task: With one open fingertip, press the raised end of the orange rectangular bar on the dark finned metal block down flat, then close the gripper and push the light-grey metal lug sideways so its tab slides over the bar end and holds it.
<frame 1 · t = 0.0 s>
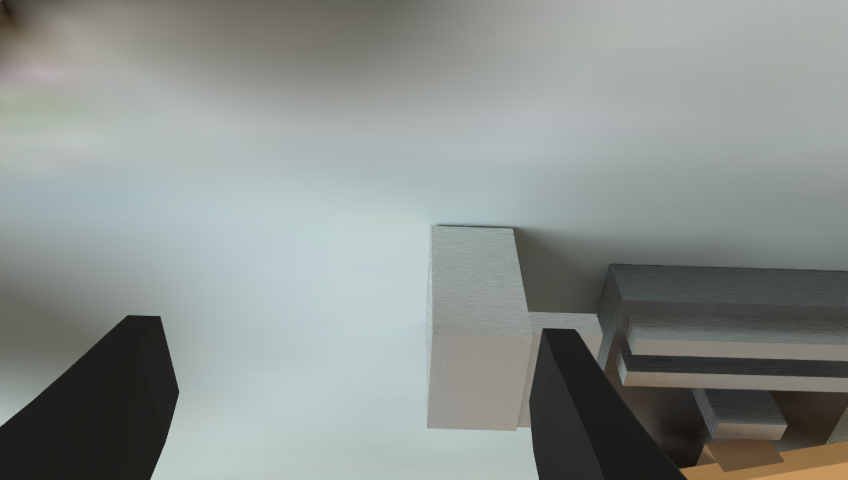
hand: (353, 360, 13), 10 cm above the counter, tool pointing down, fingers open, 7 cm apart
heatsink block: (690, 400, 28), on the counter
lug: (502, 324, 22), point 3 cm above the counter, slide at 0.0 cm
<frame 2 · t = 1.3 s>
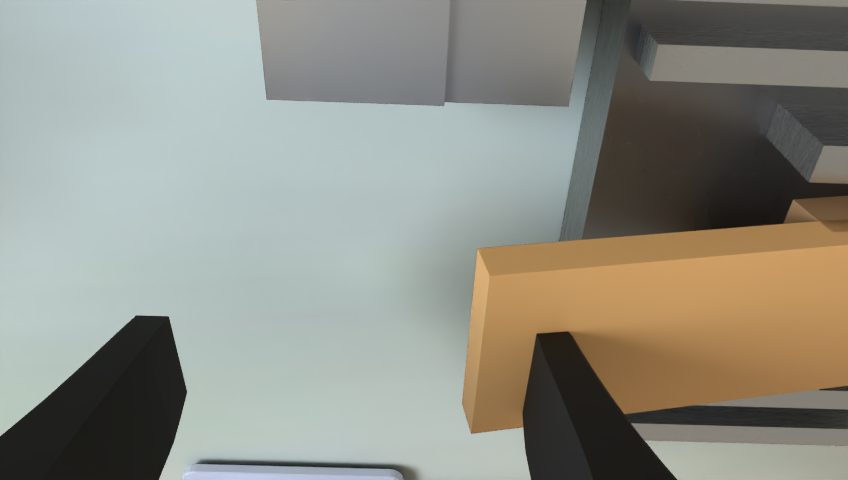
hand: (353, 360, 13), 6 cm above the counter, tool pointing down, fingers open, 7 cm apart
orange rectangular bar: (833, 295, 14), point 4 cm above the counter, hinge at 10.7°, touching gripper
heatsink block: (748, 190, 18), on the counter
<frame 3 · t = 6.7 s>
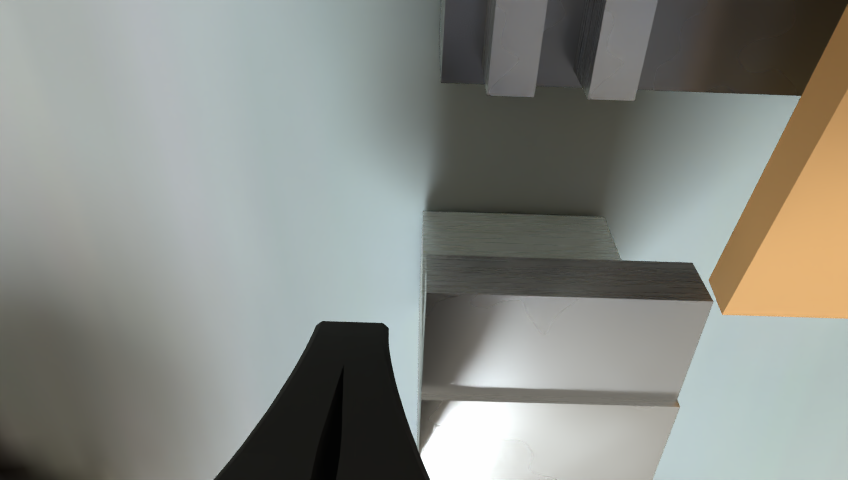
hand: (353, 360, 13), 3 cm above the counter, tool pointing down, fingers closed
lug: (526, 308, 13), point 3 cm above the counter, slide at 1.3 cm, touching gripper
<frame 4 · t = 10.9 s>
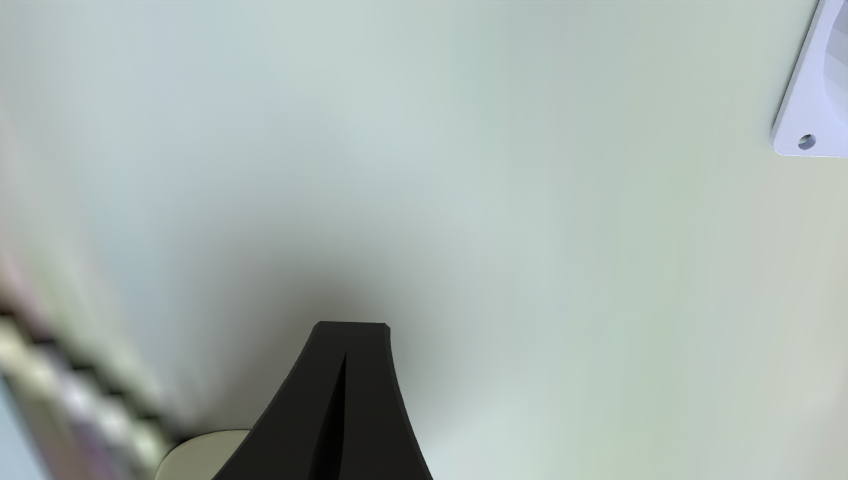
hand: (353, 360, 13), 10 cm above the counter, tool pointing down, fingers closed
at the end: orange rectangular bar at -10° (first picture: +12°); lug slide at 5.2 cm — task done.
